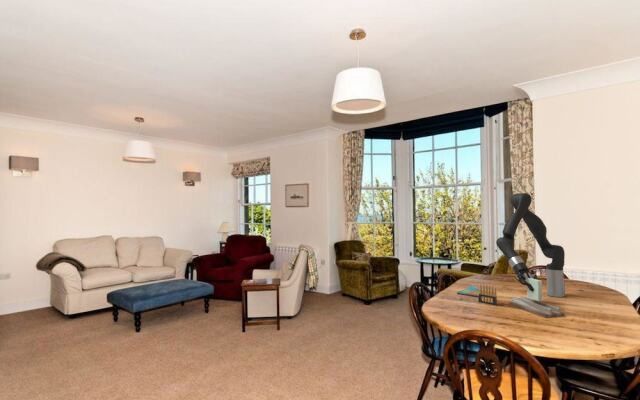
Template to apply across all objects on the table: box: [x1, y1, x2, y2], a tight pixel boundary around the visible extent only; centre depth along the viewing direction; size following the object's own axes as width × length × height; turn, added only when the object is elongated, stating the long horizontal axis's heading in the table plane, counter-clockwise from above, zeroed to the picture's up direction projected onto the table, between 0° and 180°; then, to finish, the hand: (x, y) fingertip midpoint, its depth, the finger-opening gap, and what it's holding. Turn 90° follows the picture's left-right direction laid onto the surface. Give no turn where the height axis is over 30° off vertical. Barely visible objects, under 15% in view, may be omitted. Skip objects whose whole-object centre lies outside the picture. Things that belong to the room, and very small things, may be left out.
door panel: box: [526, 278, 543, 302], centre depth 199 cm, size 3×8×11 cm, turn 12°
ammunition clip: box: [478, 282, 498, 306], centre depth 214 cm, size 11×2×12 cm, turn 39°
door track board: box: [508, 295, 566, 319], centre depth 199 cm, size 12×26×4 cm, turn 12°
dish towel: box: [456, 285, 494, 299], centre depth 240 cm, size 17×23×2 cm
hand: (535, 290), depth 198 cm, fingers closed on door panel, 2 cm apart
